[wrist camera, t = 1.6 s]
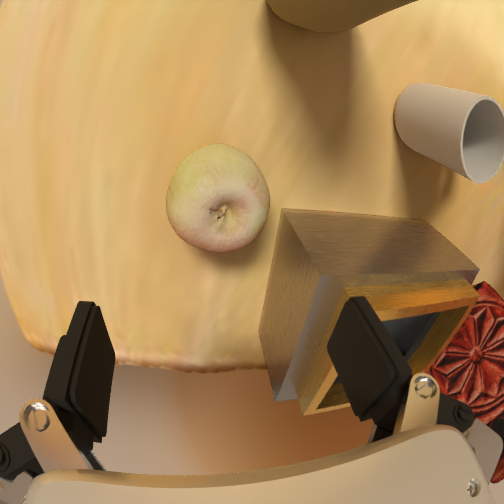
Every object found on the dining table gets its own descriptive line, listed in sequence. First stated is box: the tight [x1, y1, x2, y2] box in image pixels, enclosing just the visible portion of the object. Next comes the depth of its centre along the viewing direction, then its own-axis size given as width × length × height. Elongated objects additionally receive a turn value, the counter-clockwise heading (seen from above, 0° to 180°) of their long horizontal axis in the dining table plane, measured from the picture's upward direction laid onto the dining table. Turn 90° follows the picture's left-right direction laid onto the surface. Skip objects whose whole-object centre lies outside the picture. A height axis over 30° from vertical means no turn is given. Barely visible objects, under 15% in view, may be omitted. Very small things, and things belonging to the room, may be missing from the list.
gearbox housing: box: [259, 208, 480, 416], centre depth 26 cm, size 18×16×12 cm
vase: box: [426, 281, 504, 483], centre depth 25 cm, size 14×14×30 cm
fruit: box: [166, 143, 270, 253], centre depth 20 cm, size 8×7×8 cm
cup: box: [394, 83, 504, 184], centre depth 19 cm, size 7×10×9 cm
